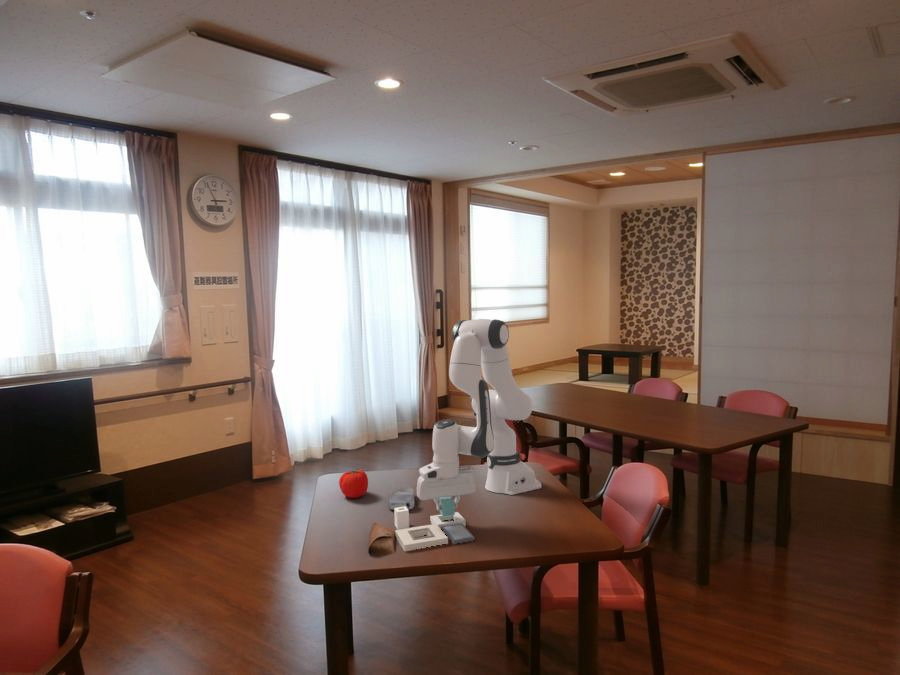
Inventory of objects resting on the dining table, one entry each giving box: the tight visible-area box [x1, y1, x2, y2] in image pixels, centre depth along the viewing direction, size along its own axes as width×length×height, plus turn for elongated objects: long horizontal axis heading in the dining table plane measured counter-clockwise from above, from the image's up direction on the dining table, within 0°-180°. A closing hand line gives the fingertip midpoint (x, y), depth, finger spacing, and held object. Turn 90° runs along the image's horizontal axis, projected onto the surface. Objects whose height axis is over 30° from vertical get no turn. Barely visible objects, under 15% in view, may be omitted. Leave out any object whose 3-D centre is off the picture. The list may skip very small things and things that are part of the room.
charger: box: [393, 506, 410, 530], centre depth 198 cm, size 4×4×6 cm
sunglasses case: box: [367, 522, 396, 556], centre depth 186 cm, size 18×7×7 cm
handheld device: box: [387, 486, 415, 511], centre depth 221 cm, size 10×20×5 cm, turn 179°
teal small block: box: [438, 496, 456, 516], centre depth 199 cm, size 4×4×5 cm
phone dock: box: [429, 511, 476, 545], centre depth 194 cm, size 10×20×2 cm, turn 19°
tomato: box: [338, 467, 369, 499], centre depth 229 cm, size 11×13×10 cm
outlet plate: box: [394, 523, 449, 552], centre depth 187 cm, size 14×12×2 cm
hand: (446, 508), depth 199 cm, fingers closed on teal small block, 4 cm apart
